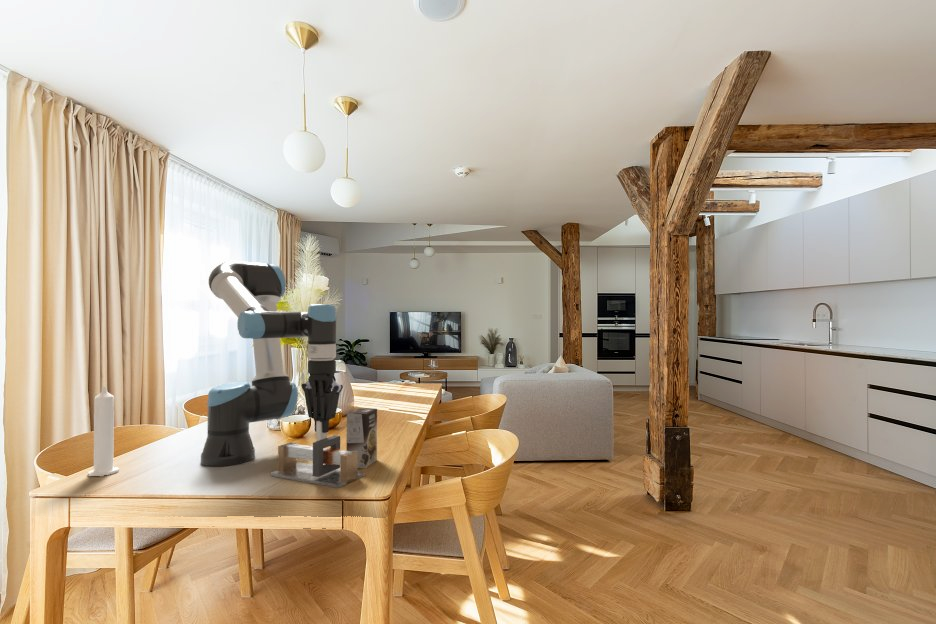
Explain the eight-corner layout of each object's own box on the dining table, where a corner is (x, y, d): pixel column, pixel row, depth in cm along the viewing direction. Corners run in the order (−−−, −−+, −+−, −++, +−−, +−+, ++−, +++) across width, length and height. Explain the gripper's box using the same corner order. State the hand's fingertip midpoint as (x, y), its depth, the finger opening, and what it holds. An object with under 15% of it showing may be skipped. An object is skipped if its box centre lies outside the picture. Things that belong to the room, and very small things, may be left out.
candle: (85, 478, 134) (86, 387, 134) (90, 471, 140) (91, 384, 141) (116, 474, 137) (117, 385, 138) (120, 467, 144) (121, 382, 144)
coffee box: (365, 469, 143) (366, 413, 143) (345, 467, 144) (345, 412, 144) (377, 460, 152) (378, 408, 152) (358, 458, 153) (358, 407, 153)
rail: (269, 475, 137) (270, 447, 137) (298, 464, 147) (298, 439, 147) (339, 487, 127) (339, 458, 127) (364, 475, 137) (364, 447, 137)
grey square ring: (312, 476, 132) (312, 442, 132) (334, 466, 140) (334, 435, 140) (318, 477, 131) (318, 443, 131) (340, 467, 139) (340, 436, 139)
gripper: (294, 359, 136) (293, 444, 135) (331, 361, 130) (331, 449, 130) (313, 357, 143) (312, 438, 142) (349, 359, 137) (349, 443, 137)
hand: (321, 443), depth 136 cm, fingers closed
